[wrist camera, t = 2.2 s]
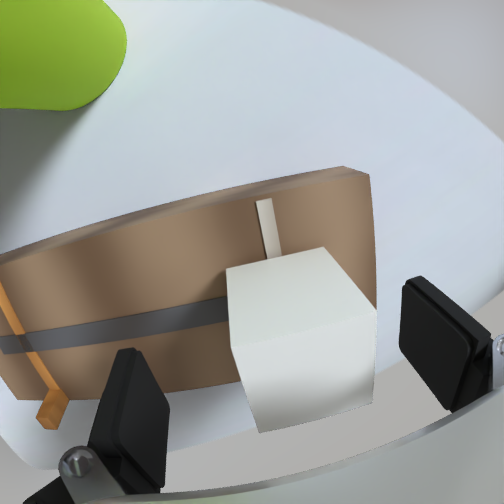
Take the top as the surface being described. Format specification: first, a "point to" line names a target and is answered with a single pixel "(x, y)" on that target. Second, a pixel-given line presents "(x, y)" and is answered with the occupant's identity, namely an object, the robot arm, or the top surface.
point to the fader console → (165, 284)
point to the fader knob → (300, 338)
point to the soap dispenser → (58, 52)
